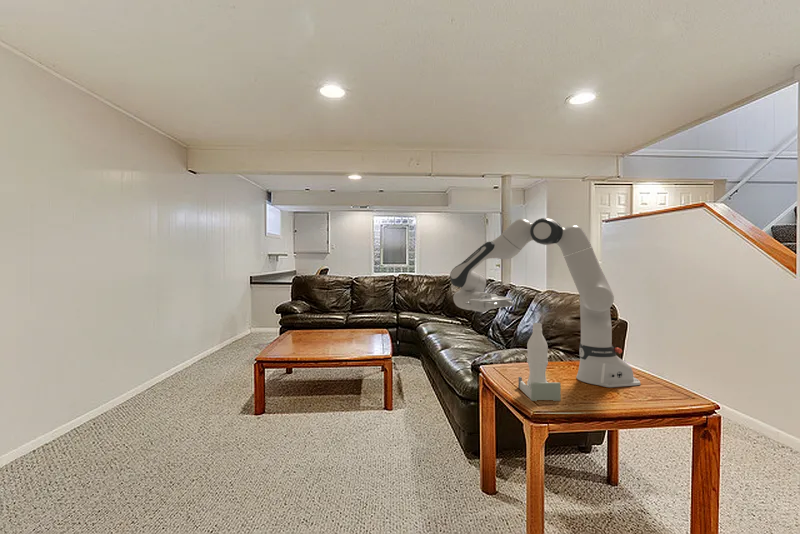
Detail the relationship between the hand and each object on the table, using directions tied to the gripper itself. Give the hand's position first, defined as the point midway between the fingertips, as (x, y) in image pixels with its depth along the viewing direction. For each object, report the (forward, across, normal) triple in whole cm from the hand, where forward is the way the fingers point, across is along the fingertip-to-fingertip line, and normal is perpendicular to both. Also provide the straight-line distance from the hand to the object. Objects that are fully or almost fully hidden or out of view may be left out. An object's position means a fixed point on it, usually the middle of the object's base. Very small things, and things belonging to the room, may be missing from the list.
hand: (503, 304), depth 154 cm
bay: (+21, -4, +30) cm, 37 cm away
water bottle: (+19, -3, +30) cm, 36 cm away
